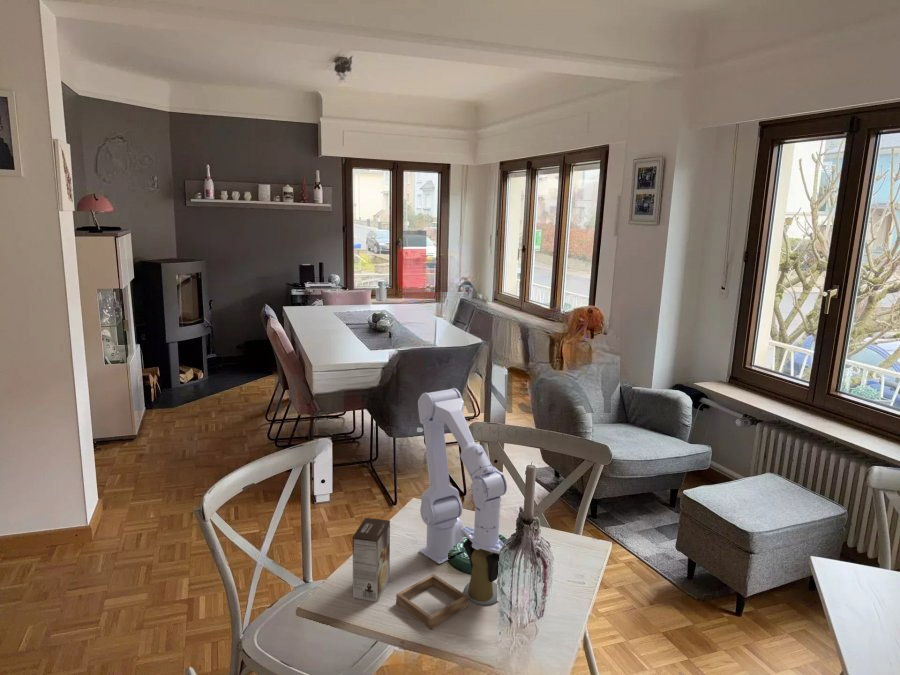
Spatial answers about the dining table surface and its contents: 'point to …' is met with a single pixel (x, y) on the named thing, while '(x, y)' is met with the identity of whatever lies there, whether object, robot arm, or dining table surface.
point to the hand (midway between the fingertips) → (484, 574)
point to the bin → (441, 615)
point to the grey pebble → (488, 602)
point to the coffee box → (371, 559)
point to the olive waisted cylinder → (480, 577)
